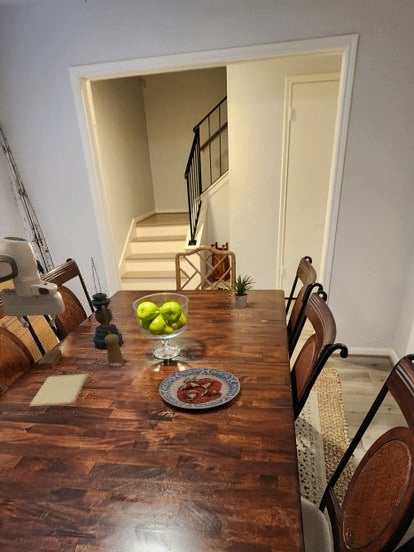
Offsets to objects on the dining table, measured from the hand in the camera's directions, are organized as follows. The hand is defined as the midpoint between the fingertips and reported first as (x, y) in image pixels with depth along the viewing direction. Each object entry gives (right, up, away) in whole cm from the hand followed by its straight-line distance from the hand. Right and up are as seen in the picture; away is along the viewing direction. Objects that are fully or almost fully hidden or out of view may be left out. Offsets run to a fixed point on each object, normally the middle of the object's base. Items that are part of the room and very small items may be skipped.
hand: (39, 326), depth 134 cm
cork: (+26, -13, +7) cm, 30 cm away
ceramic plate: (+58, -24, -15) cm, 65 cm away
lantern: (+19, -3, +23) cm, 30 cm away
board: (+12, -24, -11) cm, 29 cm away
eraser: (+1, -13, +8) cm, 15 cm away
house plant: (+78, +21, +57) cm, 99 cm away
